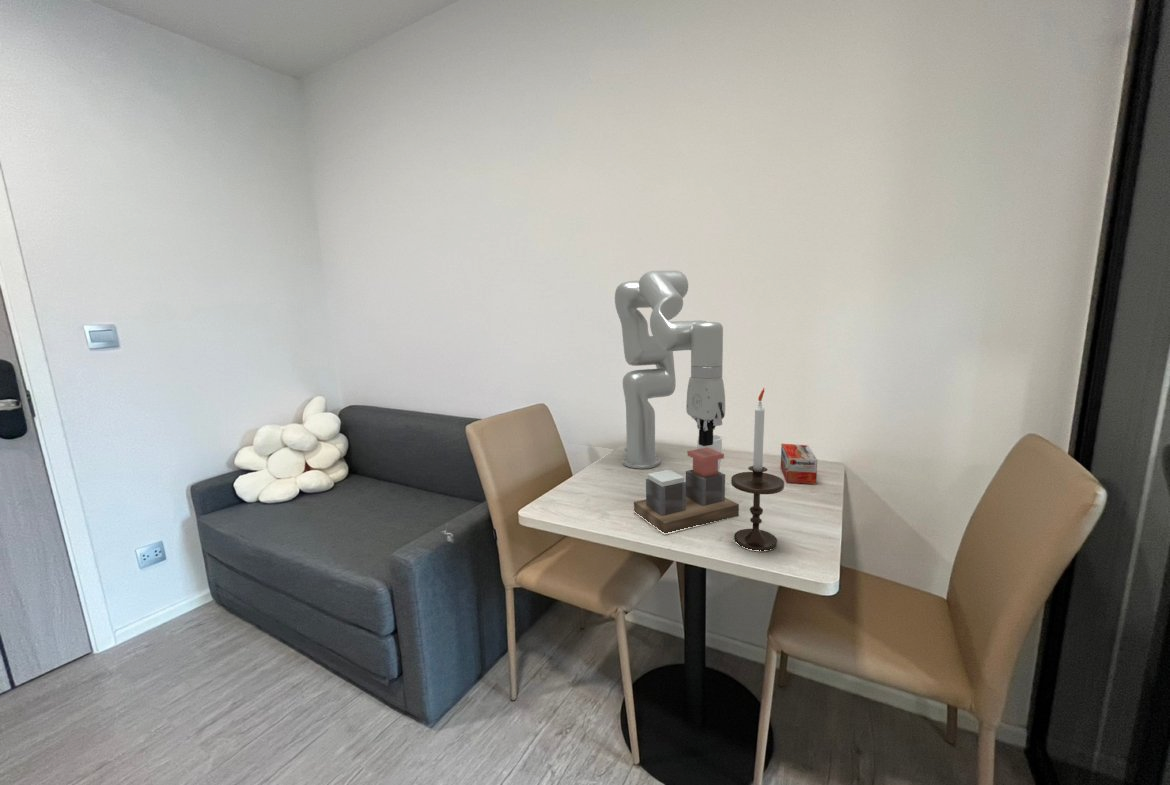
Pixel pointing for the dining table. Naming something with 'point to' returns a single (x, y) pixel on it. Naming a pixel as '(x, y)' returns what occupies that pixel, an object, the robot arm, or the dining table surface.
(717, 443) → the drinking glass
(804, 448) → the medicine box
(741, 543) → the candlestick
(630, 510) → the dining table surface
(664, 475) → the grey plunger
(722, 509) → the board
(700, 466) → the red plunger
